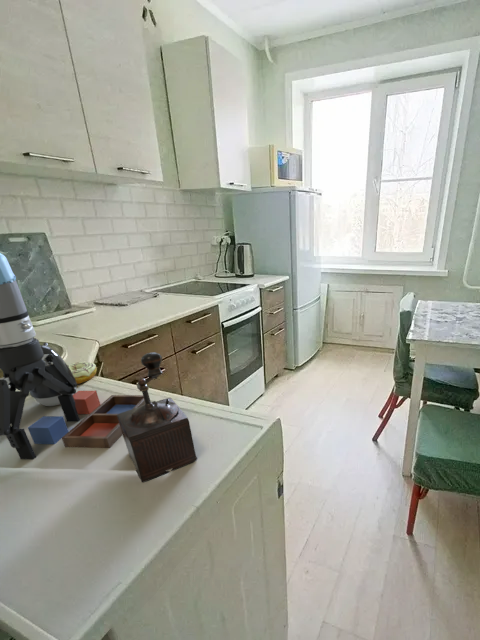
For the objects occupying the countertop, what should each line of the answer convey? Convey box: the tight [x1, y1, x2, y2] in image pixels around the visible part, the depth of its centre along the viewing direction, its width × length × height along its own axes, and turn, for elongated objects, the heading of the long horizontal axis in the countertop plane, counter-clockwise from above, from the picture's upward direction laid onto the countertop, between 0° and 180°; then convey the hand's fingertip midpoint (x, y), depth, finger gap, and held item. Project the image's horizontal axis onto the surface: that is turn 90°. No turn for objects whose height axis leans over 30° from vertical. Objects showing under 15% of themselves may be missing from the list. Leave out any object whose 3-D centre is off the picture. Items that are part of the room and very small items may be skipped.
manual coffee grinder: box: [117, 351, 198, 483], centre depth 65 cm, size 16×11×18 cm
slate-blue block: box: [27, 415, 70, 445], centre depth 73 cm, size 4×4×4 cm
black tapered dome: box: [29, 342, 77, 407], centre depth 88 cm, size 10×10×15 cm
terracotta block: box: [73, 390, 101, 415], centre depth 84 cm, size 4×4×4 cm
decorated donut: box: [67, 361, 98, 385], centre depth 103 cm, size 10×11×4 cm
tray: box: [61, 394, 145, 449], centre depth 78 cm, size 10×18×3 cm, turn 175°
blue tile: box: [106, 405, 136, 414], centre depth 82 cm, size 7×7×1 cm
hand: (53, 438), depth 74 cm, fingers open, 13 cm apart
